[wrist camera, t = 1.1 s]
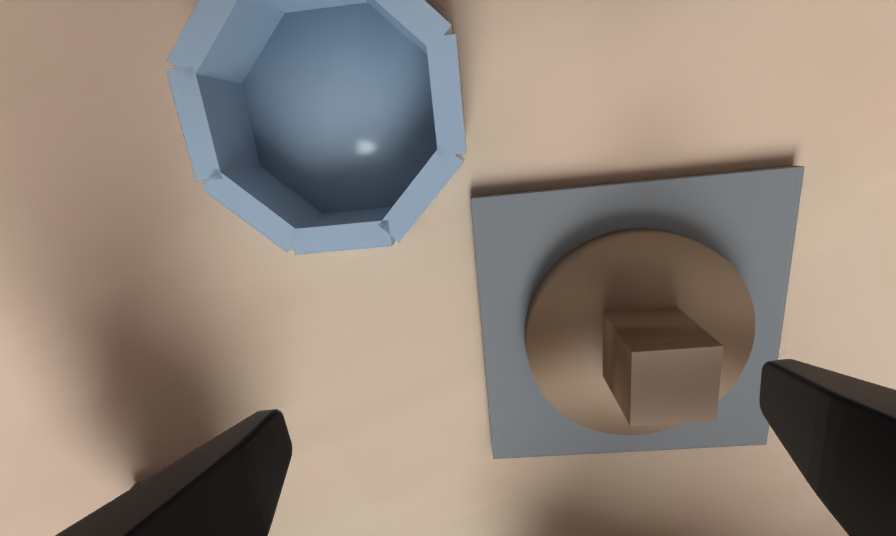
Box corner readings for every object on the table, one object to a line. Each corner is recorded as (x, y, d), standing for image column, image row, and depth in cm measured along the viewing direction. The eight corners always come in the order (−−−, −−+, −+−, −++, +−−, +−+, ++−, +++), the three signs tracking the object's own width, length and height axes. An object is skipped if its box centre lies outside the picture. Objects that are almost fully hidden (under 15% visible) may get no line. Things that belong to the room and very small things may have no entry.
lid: (729, 413, 22) (798, 488, 17) (529, 424, 23) (544, 499, 18) (749, 218, 19) (839, 246, 14) (518, 239, 20) (533, 272, 15)
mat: (758, 436, 23) (766, 444, 22) (492, 450, 24) (493, 458, 23) (794, 165, 19) (804, 166, 18) (470, 196, 20) (470, 198, 19)
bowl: (472, 218, 20) (473, 238, 16) (263, 237, 21) (217, 261, 17) (450, -32, 17) (446, -79, 13) (208, 1, 18) (137, -35, 14)
